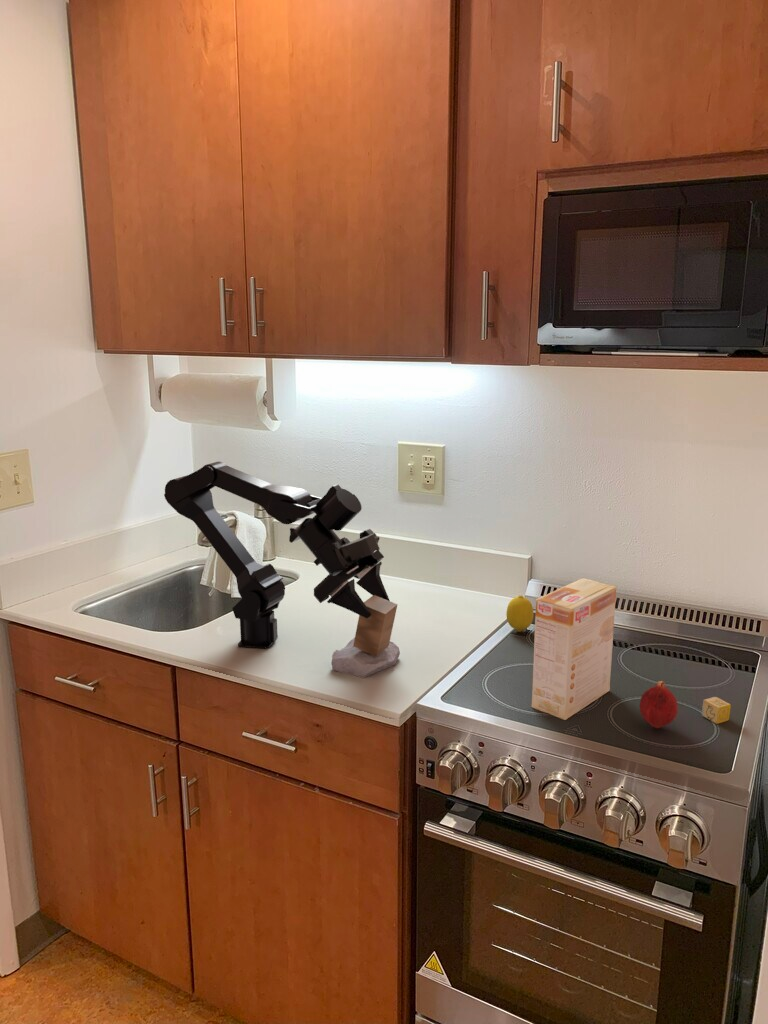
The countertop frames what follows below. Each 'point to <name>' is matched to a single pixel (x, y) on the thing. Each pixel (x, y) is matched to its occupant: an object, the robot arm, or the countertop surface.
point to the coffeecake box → (573, 647)
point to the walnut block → (375, 626)
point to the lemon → (520, 613)
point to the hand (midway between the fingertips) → (378, 609)
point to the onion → (658, 706)
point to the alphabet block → (716, 710)
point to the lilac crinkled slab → (363, 660)
